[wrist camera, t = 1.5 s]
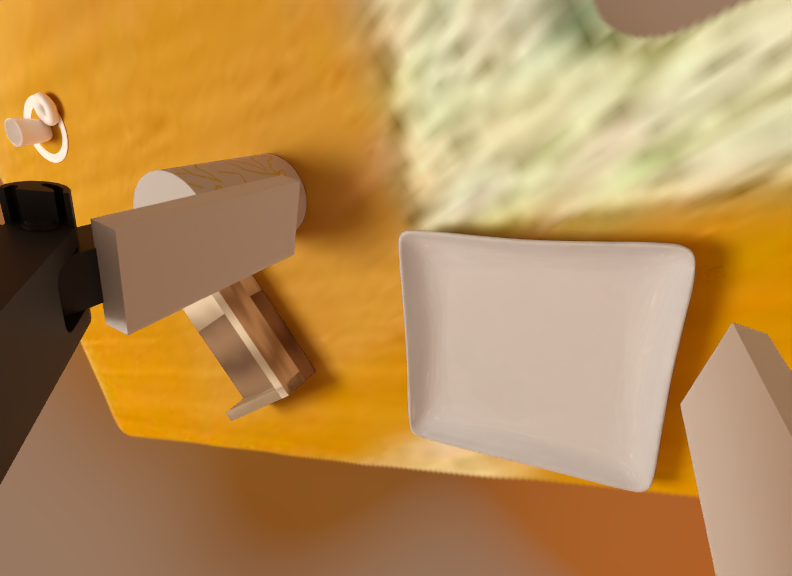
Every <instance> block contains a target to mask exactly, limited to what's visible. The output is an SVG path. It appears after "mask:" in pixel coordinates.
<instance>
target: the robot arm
mask: <svg viewBox="0 0 792 576" xmlns="http://www.w3.org/2000/svg"><path fill="white" fill-rule="evenodd" d="M299 189H300V181H299V180H296V179H293V178H290V177H287V176H284V175H279V176H275V177H270V178H266V179H262V180H257V181H253V182H249V183H244V184H240V185H236V186H231V187H227V188H223V189H218V190H214V191H210V192H205V193H201V194H197V195H192V196H188V197H184V198H179V199H175V200H171V201H166V202H162V203H158V204H153V205H149V206H145V207H140V208H136V209H132V210H127V211H123V212H119V213H114V214H110V215H106V216H101V217H97V218H93V219H91V224H89V225H85V226H81V227H77V226H76V220H75V214H74V208H73V202H72V196H71V190H70V189H69V188H68V187H67V186H65V185H62V184H59V183H53V182H46V181H22V182H13V183H8V184H4V185H1V186H0V204H1V208H2V212H3V216H4V220H5V224H4V225H0V484H1V482H2V480H3V479H4V477H5V475H6V473H7V471H8V470H9V468H10V466H11V464H12V462H13V460H14V459H15V457H16V455H17V453H18V452H19V450H20V448H21V446H22V444H23V443H24V441H25V439H26V437H27V435H28V434H29V432H30V430H31V428H32V426H33V424H34V423H35V421H36V419H37V417H38V416H39V414H40V412H41V410H42V409H43V407H44V405H45V403H46V401H47V399H48V398H49V396H50V394H51V392H52V391H53V389H54V387H55V385H56V383H57V382H58V380H59V378H60V376H61V374H62V373H63V371H64V369H65V367H66V365H67V364H68V362H69V360H70V358H71V356H72V354H73V353H74V351H75V349H76V347H77V346H78V344H79V342H80V340H81V338H82V337H83V335H84V333H85V331H86V329H87V328H88V326H89V324H90V322H91V312H90V307H93V306H95V305H98V304H100V303H103V308H104V314H105V321H106V324H107V325H109V326H111V327H113V328H115V329H117V330H119V331H121V332H123V333H125V334H126V335H129V334H132V333H134V332H136V331H138V330H140V329H142V328H144V327H146V326H148V325H150V324H152V323H154V322H156V321H158V320H160V319H162V318H164V317H166V316H169V315H171V314H173V313H175V312H177V311H179V310H181V309H183V308H185V307H187V306H189V305H191V304H193V303H195V302H197V301H199V300H201V299H203V298H206V297H208V296H210V295H212V294H214V293H216V292H218V291H220V290H222V289H224V288H226V287H228V286H230V285H232V284H234V283H236V282H238V281H240V280H243V279H245V278H247V277H249V276H251V275H253V274H255V273H257V272H259V271H261V270H263V269H265V268H267V267H269V266H271V265H273V264H275V263H277V262H280V261H282V260H284V259H286V258H288V257H290V256H292V255H294V249H295V237H296V225H297V213H298V201H299ZM680 406H681V411H682V416H683V420H684V425H685V430H686V435H687V440H688V444H689V449H690V454H691V459H692V464H693V468H694V473H695V478H696V483H697V488H698V492H699V497H700V502H701V507H702V511H703V516H704V521H705V526H706V531H707V536H708V540H709V545H710V550H711V555H712V560H713V564H714V569H715V574H716V576H792V372H791V371H790V369H789V367H788V366H787V364H786V363H785V361H784V360H783V358H782V356H781V355H780V353H779V352H778V350H777V349H776V347H775V345H774V344H773V342H772V341H771V339H770V338H769V336H768V335H767V334H766V333H763V332H760V331H757V330H754V329H751V328H748V327H744V326H741V325H738V324H735V323H732V324H731V326H730V327H729V329H728V330H727V332H726V333H725V335H724V337H723V338H722V340H721V341H720V343H719V344H718V346H717V348H716V349H715V351H714V352H713V354H712V355H711V357H710V359H709V360H708V362H707V363H706V365H705V366H704V368H703V369H702V371H701V373H700V374H699V376H698V377H697V379H696V380H695V382H694V384H693V385H692V387H691V388H690V390H689V391H688V393H687V395H686V396H685V398H684V399H683V401H682V402H681V404H680Z"/></svg>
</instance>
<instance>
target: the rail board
mask: <svg viewBox="0 0 792 576" xmlns="http://www.w3.org/2000/svg"><path fill="white" fill-rule="evenodd" d="M183 310H184V312H185V313H186V315H187V316H188V317H189V319H190V320H191V322H192V323H193V325H194V326H195V328H196V329H197V331H198V332H199V334H200V335H201V336H202V338H203V339H204V341H205V342H206V344H207V345H208V347H209V348H210V350H211V351H212V353H213V354H214V355H215V357H216V358H217V360H218V361H219V363H220V364H221V366H222V367H223V369H224V370H225V372H226V373H227V375H228V376H229V377H230V379H231V380H232V382H233V383H234V385H235V386H236V388H237V389H238V391H239V392H240V394H241V395H242V396H243V398H244V399H242V400H241V401H240V402H239V403H237V404H236V405H235V406H234V407H232V408H231V409H230V410H229V411H227V412H226V414H227V415H228V417H229V418H230V419H231V421H233V420H235V419H237V418H240V417H242V416H244V415H246V414H249V413H251V412H253V411H255V410H258V409H260V408H262V407H264V406H266V405H269V404H271V403H273V402H275V401H278V400H280V399H282V398H284V397H287V396H289V395H290V394H291V393H292V392H293V391H294V390H295V389H297V388H298V387H299V386H300V385H301V384H302V383H303V382H304V381H305V380H307V379H308V378H309V377H310V376H311V375H312V374H313V373H314V372H315V369H314V368H313V366H312V365H311V363H310V362H309V360H308V359H307V357H306V356H305V354H304V352H303V351H302V349H301V348H300V346H299V345H298V343H297V342H296V340H295V339H294V337H293V336H292V334H291V333H290V331H289V330H288V328H287V327H286V325H285V324H284V322H283V321H282V319H281V318H280V316H279V315H278V313H277V312H276V310H275V309H274V307H273V305H272V304H271V302H270V301H269V299H268V298H267V296H266V295H265V293H264V292H263V290H262V289H261V287H260V286H259V284H258V283H257V281H256V280H255V278H254V277H253V275H251V276H249V277H247V278H245V279H243V280H240V281H238V282H236V283H234V284H232V285H230V286H228V287H226V288H224V289H222V290H220V291H218V292H216V293H214V294H212V295H210V296H208V297H206V298H203V299H201V300H199V301H197V302H195V303H193V304H191V305H189V306H187V307H185V308H183Z"/></svg>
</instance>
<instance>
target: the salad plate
mask: <svg viewBox="0 0 792 576" xmlns="http://www.w3.org/2000/svg"><path fill="white" fill-rule="evenodd" d="M399 263H400V275H401V287H402V299H403V311H404V323H405V339H406V354H407V372H408V374H407V380H408V412H409V423H410V428H411V431H412V432H413V433H414V434H415V435H417V436H419V437H422V438H425V439H429V440H432V441H435V442H439V443H443V444H447V445H450V446H454V447H458V448H462V449H466V450H470V451H474V452H478V453H482V454H486V455H490V456H494V457H498V458H502V459H506V460H510V461H514V462H518V463H522V464H526V465H530V466H534V467H538V468H542V469H546V470H550V471H554V472H558V473H562V474H566V475H569V476H573V477H577V478H581V479H585V480H589V481H592V482H596V483H600V484H604V485H607V486H612V487H616V488H620V489H624V490H629V491H634V492H644V491H646V490H648V489H649V488H650V487H651V485H652V482H653V479H654V475H655V471H656V466H657V460H658V454H659V447H660V441H661V436H662V429H663V423H664V418H665V412H666V407H667V401H668V395H669V390H670V384H671V379H672V375H673V370H674V365H675V361H676V356H677V352H678V348H679V344H680V339H681V335H682V331H683V327H684V323H685V319H686V314H687V310H688V306H689V302H690V298H691V294H692V290H693V284H694V279H695V270H696V260H695V256H694V253H693V252H692V251H691V250H690V249H689V248H687V247H685V246H682V245H679V244H672V243H656V242H601V241H552V240H529V239H513V238H500V237H489V236H477V235H467V234H457V233H448V232H437V231H425V230H408V231H404V232H402V233H401V234H400V237H399Z"/></svg>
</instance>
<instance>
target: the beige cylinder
mask: <svg viewBox="0 0 792 576" xmlns="http://www.w3.org/2000/svg"><path fill="white" fill-rule="evenodd" d="M279 175H284V176H287V177H290V178H293V179H296V180H299V181H300V189H299V201H298V213H297V225H296V230H297V229H298V228H299V227H300V225H301V224H302V222H303V220H304V217H305V214H306V207H307V201H306V193H305V189H304V186H303V183H302V181H301V179H300V177H299V175H298V174H297V172H296V171H295V169H294V168H293V167H292V166H291V165H290V164H289V163H288V162H287V161H285V160H284V159H282V158H280V157H278V156H276V155H272V154H261V155H254V156H247V157H241V158H234V159H228V160H221V161H215V162H208V163H201V164H195V165H188V166H182V167H175V168H169V169H162V170H156V171H151V172H149V173H147V174H145V175H144V176H143V177H142V178H141V179H140V181H139V182H138V184H137V187H136V190H135V194H134V209H136V208H140V207H145V206H149V205H153V204H158V203H162V202H166V201H171V200H175V199H179V198H184V197H188V196H192V195H197V194H201V193H205V192H210V191H214V190H218V189H223V188H227V187H231V186H236V185H240V184H244V183H249V182H253V181H257V180H262V179H266V178H270V177H275V176H279Z"/></svg>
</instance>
